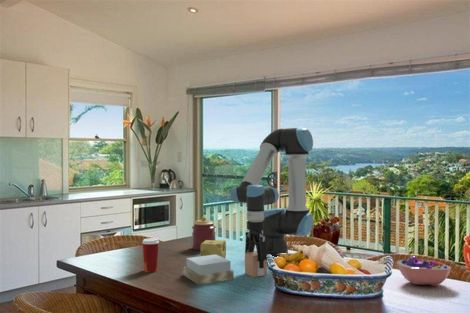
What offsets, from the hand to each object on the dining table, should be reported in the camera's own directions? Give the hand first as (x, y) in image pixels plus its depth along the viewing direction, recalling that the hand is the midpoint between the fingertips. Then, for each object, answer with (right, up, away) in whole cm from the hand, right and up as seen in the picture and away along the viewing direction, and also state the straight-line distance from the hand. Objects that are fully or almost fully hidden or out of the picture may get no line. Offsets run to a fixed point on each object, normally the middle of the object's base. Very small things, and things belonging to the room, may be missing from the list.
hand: (255, 273), depth 198 cm
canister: (-26, 0, +52) cm, 58 cm away
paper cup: (-47, -1, +6) cm, 47 cm away
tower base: (-20, -1, -4) cm, 21 cm away
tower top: (-20, +3, -4) cm, 21 cm away
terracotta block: (0, 0, 0) cm, 0 cm away
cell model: (+66, -1, -16) cm, 68 cm away
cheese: (-20, 0, +21) cm, 29 cm away
